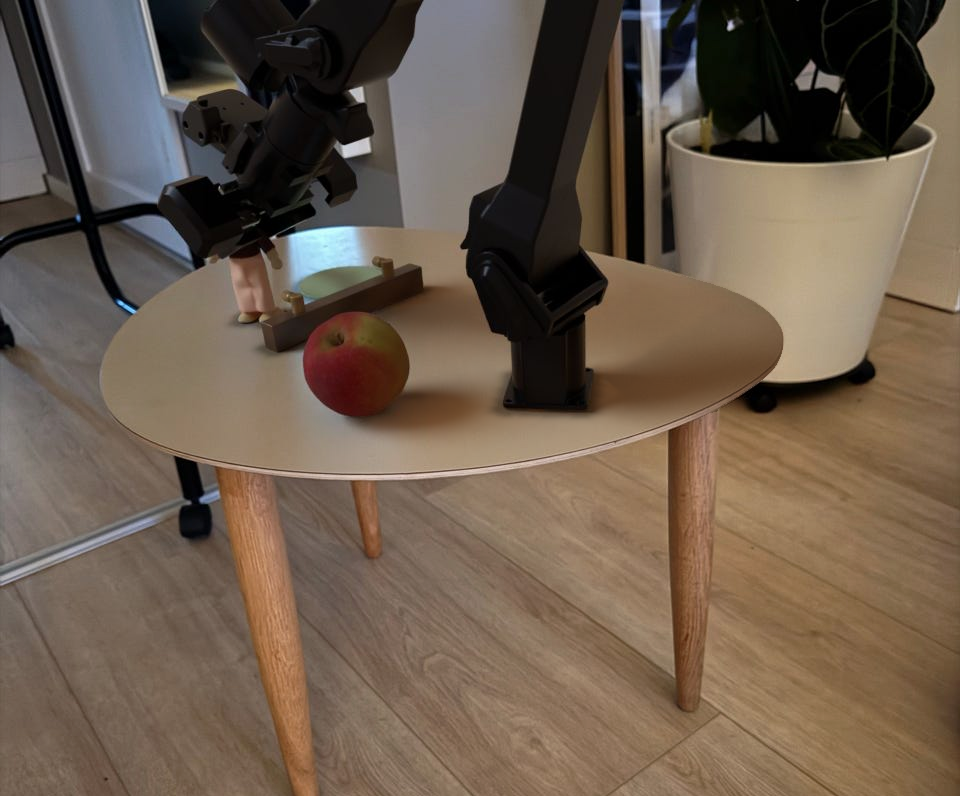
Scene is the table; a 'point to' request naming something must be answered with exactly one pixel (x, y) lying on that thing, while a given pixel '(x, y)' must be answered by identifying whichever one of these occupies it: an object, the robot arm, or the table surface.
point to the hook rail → (340, 298)
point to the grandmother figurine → (254, 279)
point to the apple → (356, 364)
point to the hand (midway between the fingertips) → (232, 249)
